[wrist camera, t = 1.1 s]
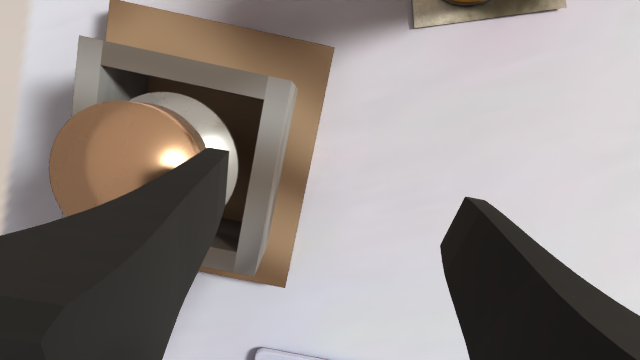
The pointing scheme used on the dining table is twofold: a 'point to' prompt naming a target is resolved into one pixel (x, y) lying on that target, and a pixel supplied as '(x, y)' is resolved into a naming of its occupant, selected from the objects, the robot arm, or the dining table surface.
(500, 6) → the condiment
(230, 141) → the plunger
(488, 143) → the dining table surface
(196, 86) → the base
